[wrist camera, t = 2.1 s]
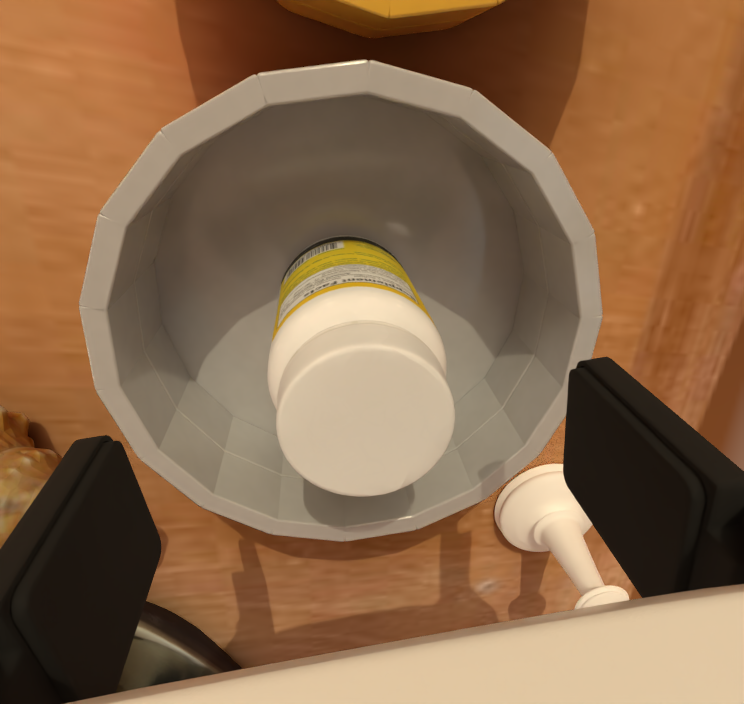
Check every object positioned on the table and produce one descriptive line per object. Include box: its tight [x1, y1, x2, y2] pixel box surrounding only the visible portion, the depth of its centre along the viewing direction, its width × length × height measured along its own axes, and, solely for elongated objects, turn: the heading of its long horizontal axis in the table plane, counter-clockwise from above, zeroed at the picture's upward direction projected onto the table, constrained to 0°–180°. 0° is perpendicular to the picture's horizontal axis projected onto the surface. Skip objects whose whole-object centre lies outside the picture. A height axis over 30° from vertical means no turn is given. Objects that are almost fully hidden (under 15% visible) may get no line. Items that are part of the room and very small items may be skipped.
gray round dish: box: [79, 59, 603, 542], centre depth 17 cm, size 14×15×5 cm
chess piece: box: [494, 464, 629, 609], centre depth 20 cm, size 5×5×10 cm
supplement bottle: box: [267, 235, 455, 497], centre depth 15 cm, size 5×5×8 cm
